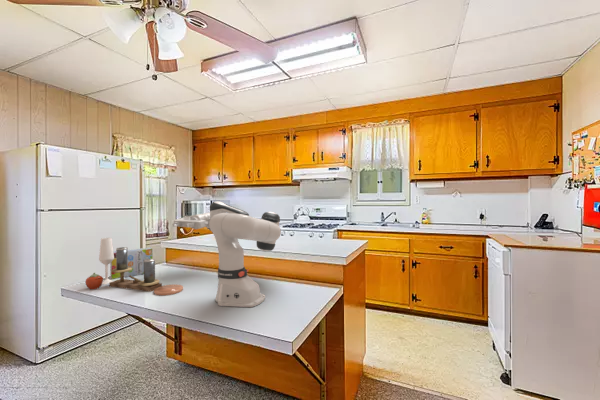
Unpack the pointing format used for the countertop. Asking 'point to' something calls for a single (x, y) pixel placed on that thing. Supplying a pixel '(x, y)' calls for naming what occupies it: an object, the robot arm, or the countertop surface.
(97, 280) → the tomato
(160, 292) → the dish
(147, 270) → the brushed steel peg
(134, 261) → the snack box
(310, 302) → the countertop surface
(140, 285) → the balance
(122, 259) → the cylinder
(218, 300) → the robot arm
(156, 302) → the countertop surface
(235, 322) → the countertop surface
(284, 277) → the countertop surface
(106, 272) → the champagne flute
